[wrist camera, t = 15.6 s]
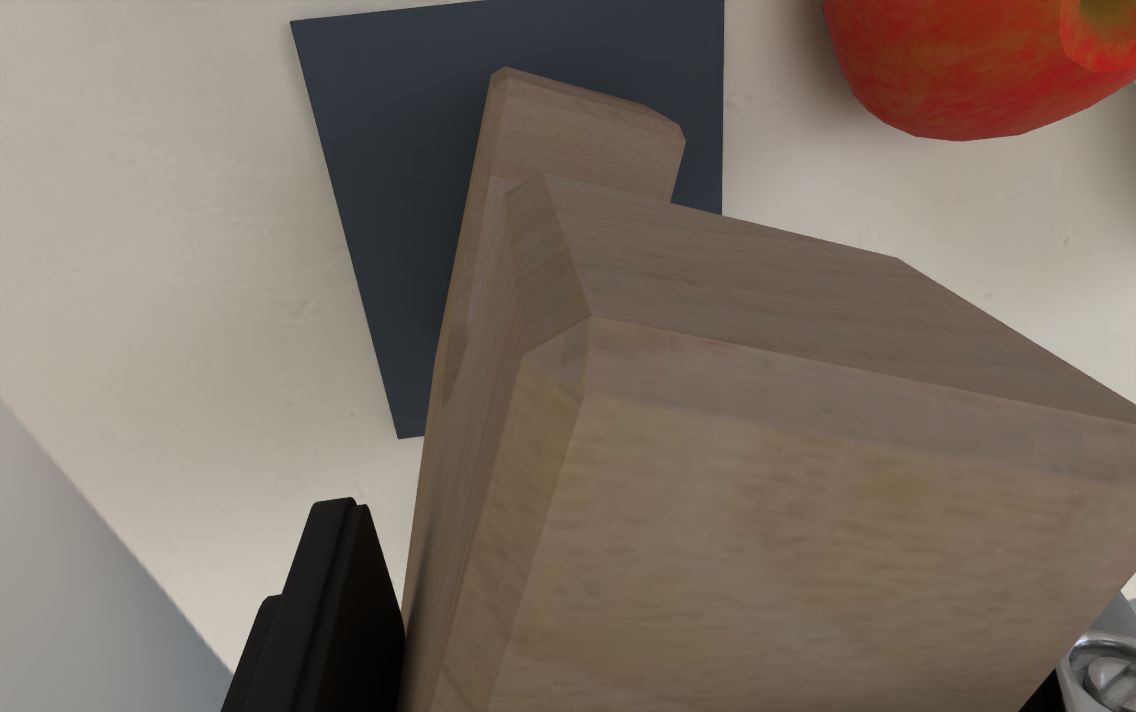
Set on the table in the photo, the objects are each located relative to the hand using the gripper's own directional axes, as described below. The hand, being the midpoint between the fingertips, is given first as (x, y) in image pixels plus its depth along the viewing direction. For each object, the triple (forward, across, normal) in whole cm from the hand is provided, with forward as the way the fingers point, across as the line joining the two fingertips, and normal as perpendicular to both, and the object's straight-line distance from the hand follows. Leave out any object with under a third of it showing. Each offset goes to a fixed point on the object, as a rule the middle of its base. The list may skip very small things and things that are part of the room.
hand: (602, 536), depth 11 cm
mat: (+17, 0, 0) cm, 17 cm away
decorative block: (+15, 0, 0) cm, 15 cm away
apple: (+17, -13, -7) cm, 22 cm away
